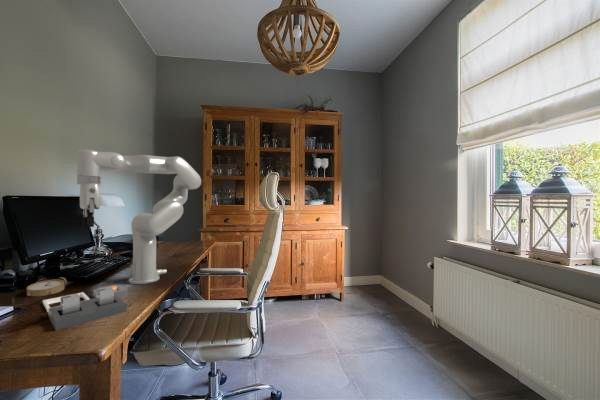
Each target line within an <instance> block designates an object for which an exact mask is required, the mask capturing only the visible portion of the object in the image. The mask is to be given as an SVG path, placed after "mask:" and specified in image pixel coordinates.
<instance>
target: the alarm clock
mask: <svg viewBox="0 0 600 400" xmlns="http://www.w3.org/2000/svg"><path fill="white" fill-rule="evenodd" d="M67 284H68V280H67V279H66V277H60V276H59V277H56V278H53V279H48V278H41V279H40V278H39V279H38V280H37V281H36V282H35V283H32V284H30V285H27V287H26V296H27V297H41V296H42V297H43V296H49V295H53V294H57V293H61V292H62V291H64V290H65V288H66V286H67Z"/></svg>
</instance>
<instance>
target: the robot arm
mask: <svg viewBox="0 0 600 400" xmlns="http://www.w3.org/2000/svg"><path fill="white" fill-rule="evenodd" d="M102 172H114V173H115V172H116V173H117V172H119V173H121V172H122V173H135V174H157V175H159V174H160V175H175V174H176V175H175V177H174V179H173V186H172V187H173V189H172V191H171V192H170V193H168V194H167V195H166V196H165V197H163V198H162V199H161V200H159V201H157V203H155V204H154V206H153V207H152V213H149V212H148V213H147V212H143V213H139V214H137V215H135V216H134V217H133V219H132V221H131V233H132V277H130V278H129V279H128V283H129V284H131V285H146V284H150V283H155V282H158V281H159V280H160V278H161V277H160V276H161V275H162V274H167V272H168V271H167V268H165V269H162V268H161V269H158V268H157V237H156V236H158V235H161V234H162V233H164V232H165V231H167V230H168V229H169V228H170V227H172V226H173V225H174V224H175V223H177V221H179V220H180V219H181V217H182V216H183V214H184V206H183V205H184V204H185V203H186V202H187V201H188V194H189V190H196V189H198V188H200V187H201V185H202V178H201V176H200V174H199V173H198V172H197V171H196V170H195V168H193V166H191V165H190V163H188V162H187V160H186V159H184V158H183V157H181V156H178V155H177V156H159V155H158V156H157V155H151V154H136V155H135V154H134V155H122V154H121V153H119V152H114V151H97V150H94V149H79V150H78V151H77V154H76V185H80V186H79V208H80V209H82V210H83V211H82V212H83V213H82V214H83V216H82V226H83V227H84V228H94V227H95V210H99V209H101V199H100V198H101V196H100V186H101V183H102V181H101V180H102V179H101V177H102V175H101V174H102Z"/></svg>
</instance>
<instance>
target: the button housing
mask: <svg viewBox="0 0 600 400" xmlns="http://www.w3.org/2000/svg"><path fill="white" fill-rule="evenodd" d="M116 286H117V291H114V294H115V295H116V296H117V297H118V298H120V299H122V298H126V297H128V296H129V290H128V288H126V287H124V286H123V285H122V284H118V285H116ZM96 297H97V289H94V290H93V299H94V298H96Z"/></svg>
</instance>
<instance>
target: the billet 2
mask: <svg viewBox="0 0 600 400" xmlns="http://www.w3.org/2000/svg"><path fill="white" fill-rule="evenodd" d="M96 290H97V297H96V305H97V306H98V307H99V306H103V305H107V304H111V303H114V289H113V288H112V287H107V286H105V287H102V288H101V287H99V288H96Z"/></svg>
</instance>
